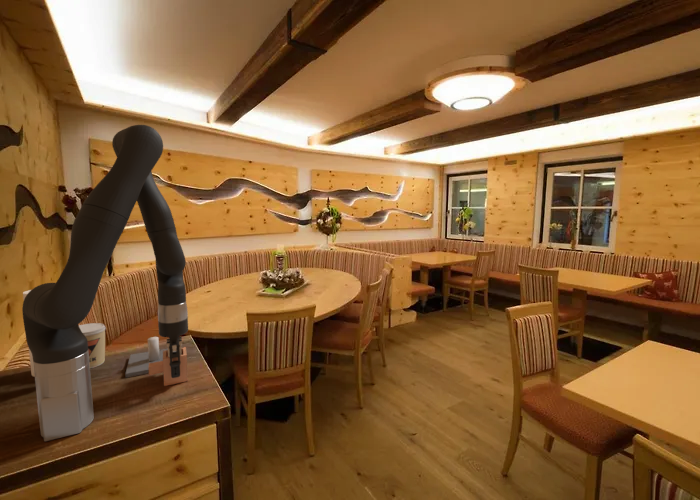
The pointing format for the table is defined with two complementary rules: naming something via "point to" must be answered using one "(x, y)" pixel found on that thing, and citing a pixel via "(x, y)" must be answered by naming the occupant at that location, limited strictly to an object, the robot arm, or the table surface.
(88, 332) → the coffee cup
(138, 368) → the base
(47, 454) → the table surface
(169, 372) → the orange hollow box
